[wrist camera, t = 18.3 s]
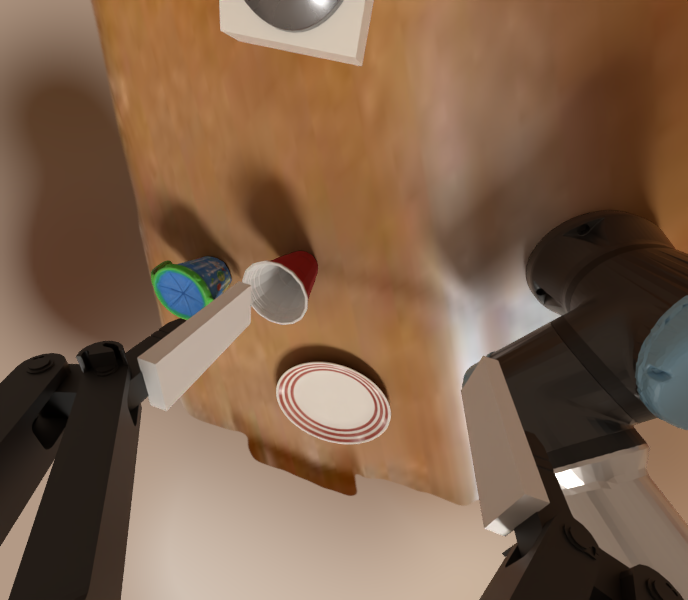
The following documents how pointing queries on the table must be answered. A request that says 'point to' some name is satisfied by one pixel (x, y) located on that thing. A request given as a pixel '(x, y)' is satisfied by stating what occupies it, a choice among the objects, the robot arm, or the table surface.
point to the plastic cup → (282, 286)
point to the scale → (323, 41)
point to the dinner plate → (333, 402)
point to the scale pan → (294, 13)
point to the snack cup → (190, 284)
